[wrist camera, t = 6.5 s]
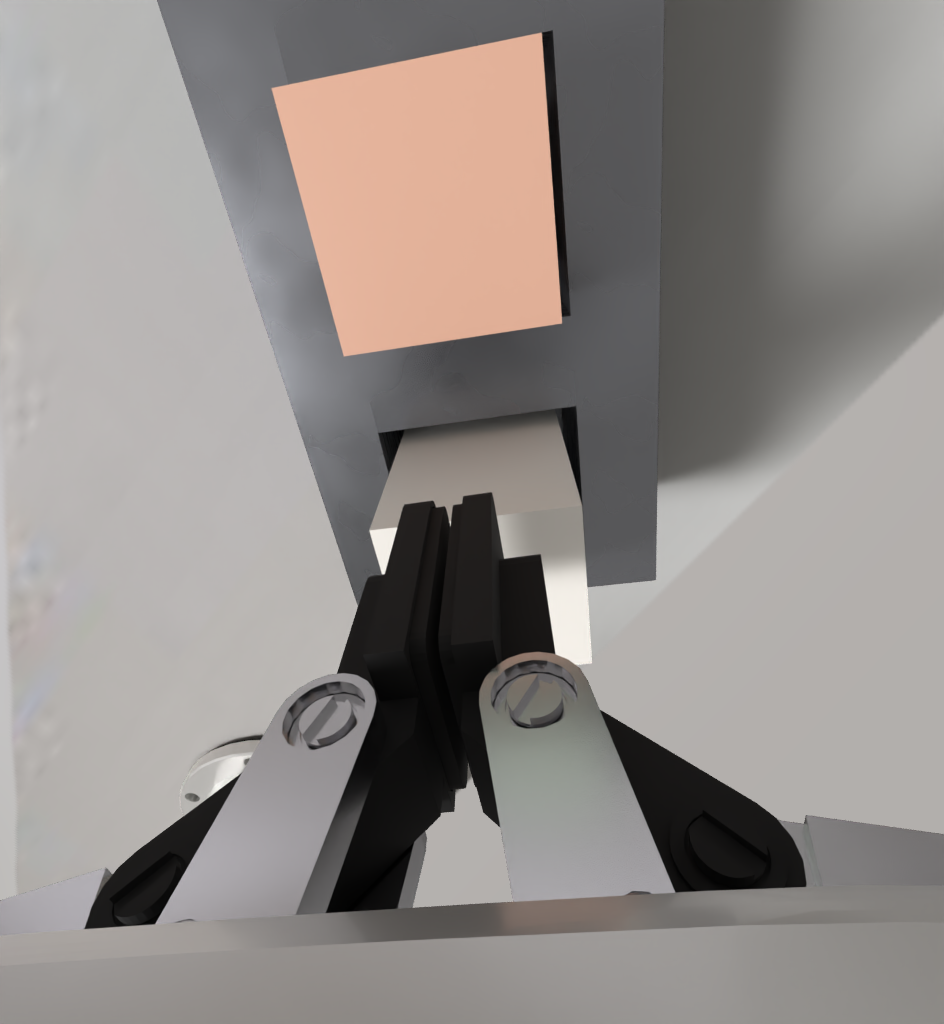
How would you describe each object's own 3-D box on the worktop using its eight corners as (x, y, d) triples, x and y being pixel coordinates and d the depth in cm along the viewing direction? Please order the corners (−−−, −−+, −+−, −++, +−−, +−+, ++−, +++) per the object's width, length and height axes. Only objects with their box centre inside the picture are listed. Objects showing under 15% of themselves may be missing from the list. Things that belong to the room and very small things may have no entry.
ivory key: (564, 533, 19) (592, 663, 14) (433, 548, 20) (412, 679, 14) (554, 406, 17) (582, 505, 12) (405, 427, 17) (369, 530, 12)
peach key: (539, 279, 16) (562, 323, 11) (388, 304, 17) (343, 356, 12) (523, 88, 14) (541, 32, 9) (349, 122, 15) (271, 87, 9)
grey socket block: (619, 492, 23) (655, 580, 18) (387, 519, 24) (359, 610, 19) (596, -448, 12) (679, -943, 7) (160, -321, 13) (-64, -662, 8)
